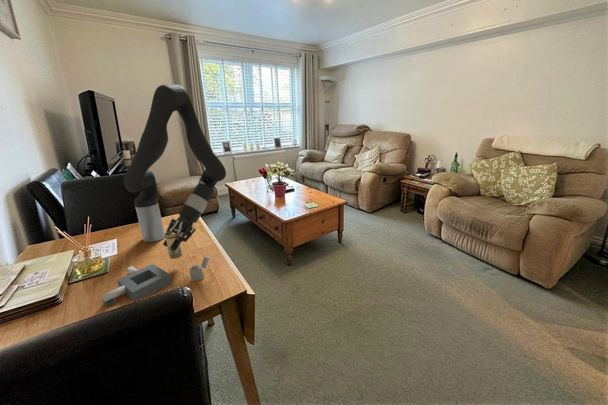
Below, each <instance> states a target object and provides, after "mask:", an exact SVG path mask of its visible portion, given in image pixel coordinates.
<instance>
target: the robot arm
mask: <svg viewBox="0 0 608 405" xmlns="http://www.w3.org/2000/svg"><path fill="white" fill-rule="evenodd" d="M152 96H153V97H152V102H151V105H150V106H151V107H150V111H149V114H148V117H147V120H146V124H145V126H144V129H143V132H142V134H141V136H140V140H139V143H138V146H137V148H136V151H135V154H134V157H133V159H132V160H131V162H130V165H129V167H128V169H127V170H126V173H125V174H124V177H123V184H124V187H125V188H126V190H127V191H128V192H130V193H139V192H140V193H139V195H138V196H137V197H136V198H135V199H134V200H133V203H134V207H135V210H136V211H135V212H136V216H137V219H138V224H139V228H140V232H141V236H142V240H143V242H145V243H154V242H155V243H156V242H159V241H160V240H162V239H163V240H164V238H165V235H164V234H165V233H166V232H169V231H174V230H175V231H177V233H178V235H177V237H176V240H174V242H173V244H172V245H171V247H170V249H172V250H174V251H175V250H176V249H177V248H178V246H179V245H180V246H181V243H182V242H185V243H186V242H187V241H188V240H189V239H190V238H191V237H192V235H193V234H194V233H195V232H196V230H197V229H196V228H195V227H193V224H195V223H197V222H198V221H199V219H200V218H201V217H202V214H203V213H204V211H205V209H206V208H207V206H208V203H209V201H210V200H211V199H212V196H213V195H214V192H215V191H214V188H216V185H217V183H218V182H221V181H223V180H225V178H226V176H227V170H226V168H225V166H224V163H222V161H221V160H220V158H218V156H217V155H216V154H215V152H214V150H213V149H212V146H211V145H210V143H209V141H208V139H207V138H206V136H205V133H204V131H203V129H202V127H201V125H200V122H199V118H198V117H197V113H196V112H195V109H194V105H193V103H192V100H191V98H190V95H189V93H188V91H187V89H186V88H184V87H183V86H182V85H180V84H161V85H159V86H157V87H156V89H155V91H154V94H153V95H152ZM176 111H177V113H178V114H179V116H180V117H181V119H182V121H183V124H184V128H185V134H186V140H187V142H188V146H189V147H190V149H191V152H192V153H193V155H194V156H195V159H196V160H197V161H198V162H199V163H201V164H202V165H203V167H204V168H205V169H204V171H203V172H202V173H201V175H200V177H199V178H200V179H199V180H198V183H197V184H196V186H195V188H194V189H193V190H192V192H191V194H190V195H189V196H188V197H187V199H186V200H185V202H184V203H183V205H182V207H181V208H180V209H179V211H178V215H179V216H178V218H177V219H174V218H171V219H170V222H169V224H168V227H167V229H166V231H165V228H164V224H163V221H162V215H161V210H160V206H159V202H158V199H159V193H158V186H157V181H156V176H155V175H154V173H153V171H152V170H150V168H151V167H152V166H153V165H154V164H155V163H156V162H158V160H159V159H160V158H161V157H162V155H164V153H165V150H166V148H167V146H168V143H169V135H168V133H169V132H168V124H169V121H170V118H171V117H172V114H173V113H174V112H176ZM162 243H163V244H162V245H163V246H165V247H167V242H166V239H165V240H164V242H162Z"/></svg>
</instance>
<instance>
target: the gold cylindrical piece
mask: <svg viewBox="0 0 608 405" xmlns="http://www.w3.org/2000/svg"><path fill="white" fill-rule="evenodd" d="M164 233H165V234H164V235H165V237H164V238H165V240H166V242H167V246H166V247H167V251H168V257H169V259H171V260H174V259H175V260H176V259H179V258H181V257H182V256H183V252H182V251H183V250H182V246H181V244H180V245H179V246H178V248H177V249H176V250H175V251H174V250H172V249H170V247H171V245H172V244H173V242H174V240H176V237H177V235H178V233H177V231H175V230H174V231H171V230H170V231H169V232H166V231H165V232H164Z"/></svg>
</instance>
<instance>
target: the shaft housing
mask: <svg viewBox="0 0 608 405" xmlns="http://www.w3.org/2000/svg"><path fill="white" fill-rule="evenodd" d="M126 272H127V274H126V275H124V276H122V277H120V278H117V279H116V281H117V285H118V287H117V288H115V289H113V290H110V291H108V292H106V293H104V294H102V296H101V297H102V299H103V300H102V301H103V304H104V305H105V306H106V307H110V306H112V305H115V304H116V302H115V298H117V297H119V296H121V295H123V294H125V295H126V296H127V297H129V298H130V299H131V300H132V301H134V302H137V301H140V300H141V299H143V298H145V297H147V296H149V295H151V294H153V293H155V292H156V291H159V290H160V289H163V288H164V287H166V286H169V285H170V284H172V279H171V274H170V273H168V272H167V271H165V270H164V269H162V268H161V267H159V266H157V265H156V264H155V263H151V264H150V265H147V266H145V267H143V268H140V269H137V268H135V267H134V266H129V267H128V268H127V269H126Z"/></svg>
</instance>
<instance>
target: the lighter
mask: <svg viewBox="0 0 608 405" xmlns="http://www.w3.org/2000/svg"><path fill="white" fill-rule="evenodd" d="M209 261H210V256H209V255H204V257H203V260H202V264H201V265H200V266H199V264H194V265H192V266H191V267H190V268H188V270H189V276H190V281H191V282H195V281H198V280H203V279H204V273H203V269H206V268H207V266H208V263H209Z"/></svg>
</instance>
